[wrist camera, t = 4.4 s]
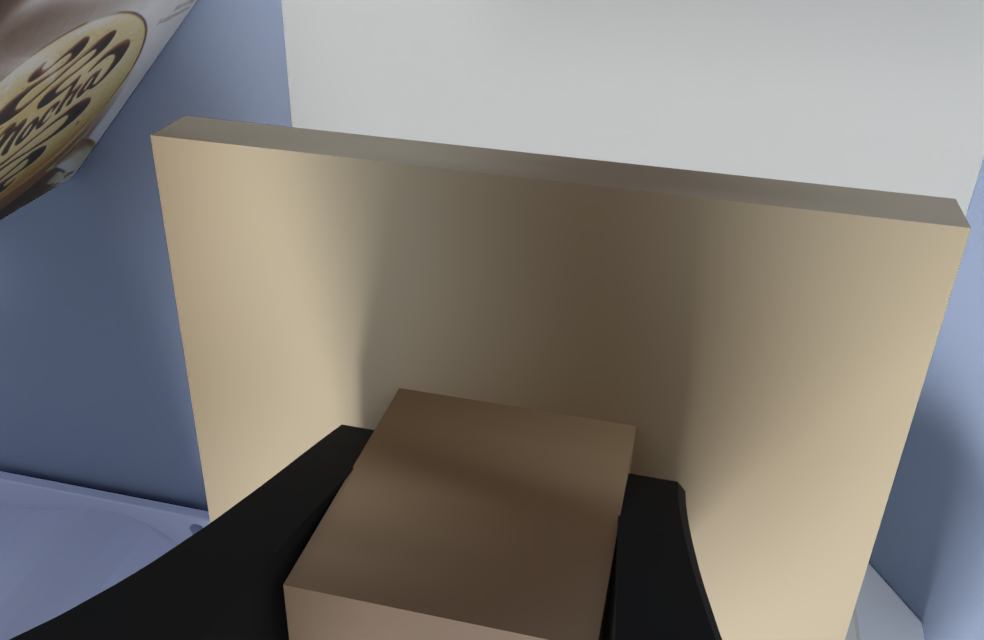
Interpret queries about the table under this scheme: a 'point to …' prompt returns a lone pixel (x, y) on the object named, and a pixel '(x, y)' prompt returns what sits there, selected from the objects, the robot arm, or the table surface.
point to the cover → (549, 370)
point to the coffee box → (69, 82)
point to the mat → (661, 83)
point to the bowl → (882, 613)
